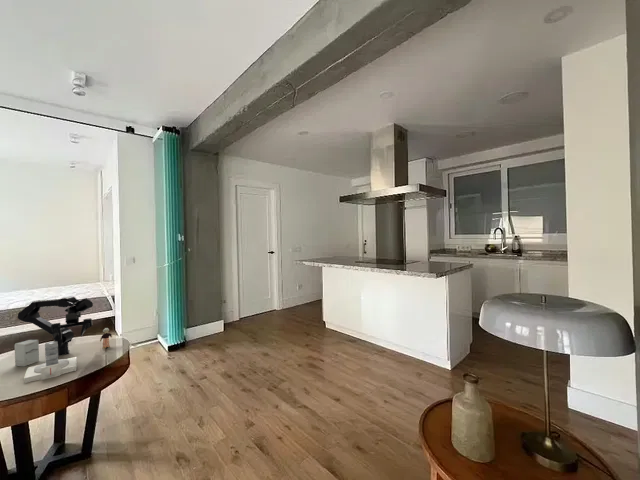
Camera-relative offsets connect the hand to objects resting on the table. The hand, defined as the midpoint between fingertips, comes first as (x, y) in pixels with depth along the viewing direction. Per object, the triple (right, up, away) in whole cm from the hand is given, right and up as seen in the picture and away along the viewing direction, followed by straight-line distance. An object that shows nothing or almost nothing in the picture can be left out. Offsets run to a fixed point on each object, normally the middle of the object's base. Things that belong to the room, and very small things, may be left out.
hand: (71, 337), depth 168 cm
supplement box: (-24, -14, -2) cm, 28 cm away
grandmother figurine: (+6, -13, +20) cm, 25 cm away
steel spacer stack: (+1, -10, -13) cm, 17 cm away
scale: (+1, -14, -13) cm, 19 cm away
